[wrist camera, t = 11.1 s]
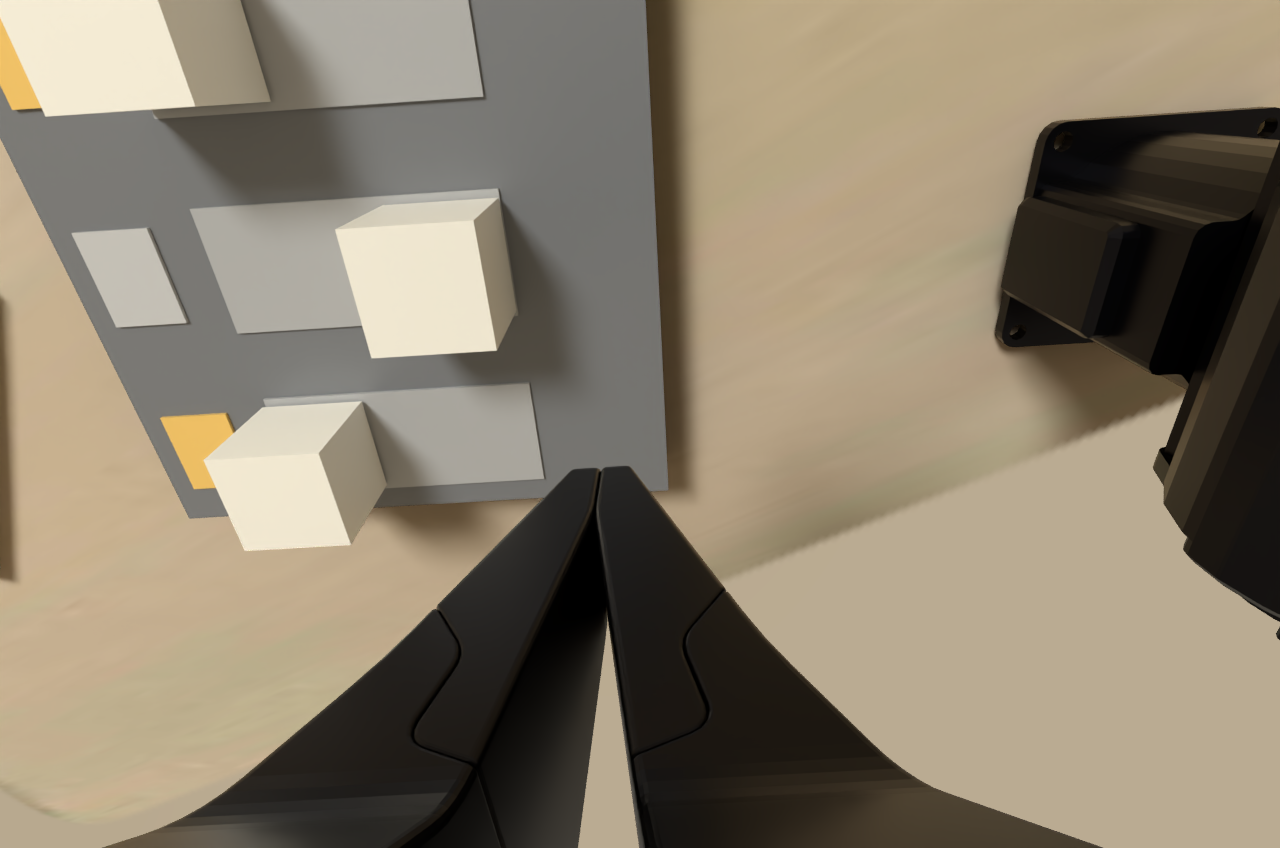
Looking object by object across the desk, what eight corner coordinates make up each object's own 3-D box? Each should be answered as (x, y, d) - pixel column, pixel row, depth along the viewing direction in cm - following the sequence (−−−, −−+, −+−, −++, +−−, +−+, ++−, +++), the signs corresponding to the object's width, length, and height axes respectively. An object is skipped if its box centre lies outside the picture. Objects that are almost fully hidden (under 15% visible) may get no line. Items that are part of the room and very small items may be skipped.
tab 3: (498, 197, 16) (473, 220, 14) (516, 309, 18) (496, 350, 15) (382, 205, 16) (334, 229, 14) (409, 317, 18) (371, 358, 15)
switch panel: (637, -117, 15) (639, -144, 13) (665, 458, 23) (668, 492, 21) (-26, -68, 15) (-117, -88, 13) (223, 484, 23) (187, 520, 21)
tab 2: (361, 401, 19) (318, 453, 16) (386, 484, 20) (350, 544, 18) (262, 407, 19) (203, 460, 16) (294, 490, 20) (244, 550, 18)
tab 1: (224, -54, 14) (127, -87, 11) (270, 101, 15) (194, 105, 12) (87, -44, 14) (-42, -74, 11) (146, 110, 15) (45, 116, 13)
